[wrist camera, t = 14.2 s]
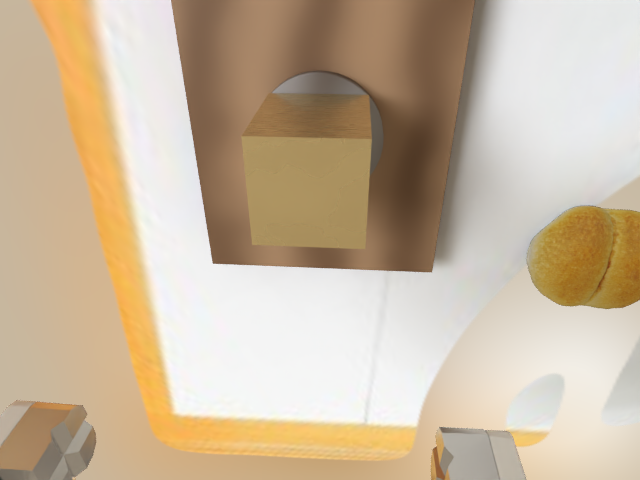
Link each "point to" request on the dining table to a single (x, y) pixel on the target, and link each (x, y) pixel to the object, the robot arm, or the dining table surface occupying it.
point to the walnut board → (328, 78)
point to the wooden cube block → (309, 170)
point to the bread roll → (588, 258)
